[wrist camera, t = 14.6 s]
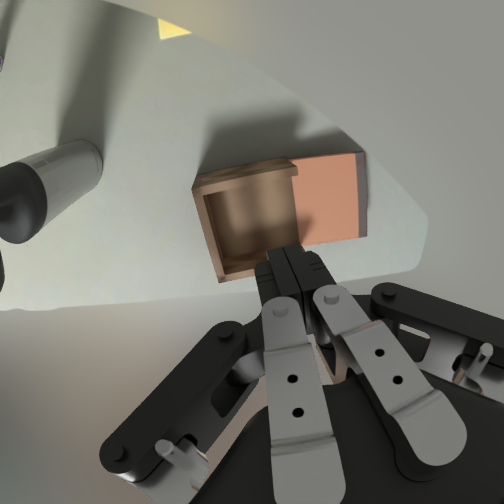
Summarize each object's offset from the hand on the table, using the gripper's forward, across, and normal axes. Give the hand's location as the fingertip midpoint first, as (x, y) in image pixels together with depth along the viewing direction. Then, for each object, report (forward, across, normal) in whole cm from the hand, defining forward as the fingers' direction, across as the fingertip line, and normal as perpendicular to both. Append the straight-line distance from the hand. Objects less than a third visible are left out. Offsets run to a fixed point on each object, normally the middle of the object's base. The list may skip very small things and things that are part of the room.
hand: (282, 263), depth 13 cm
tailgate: (+29, -7, +9) cm, 31 cm away
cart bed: (+32, 0, +9) cm, 33 cm away
